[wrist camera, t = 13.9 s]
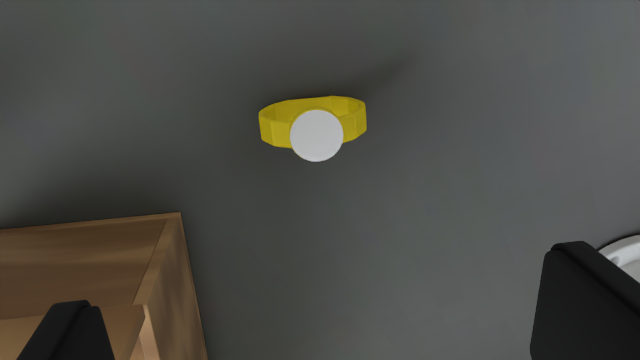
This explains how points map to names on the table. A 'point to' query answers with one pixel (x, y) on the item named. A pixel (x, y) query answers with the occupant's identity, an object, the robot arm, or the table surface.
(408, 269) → the table surface
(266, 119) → the watch
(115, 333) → the chest lid
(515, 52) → the table surface
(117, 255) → the chest
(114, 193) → the table surface
